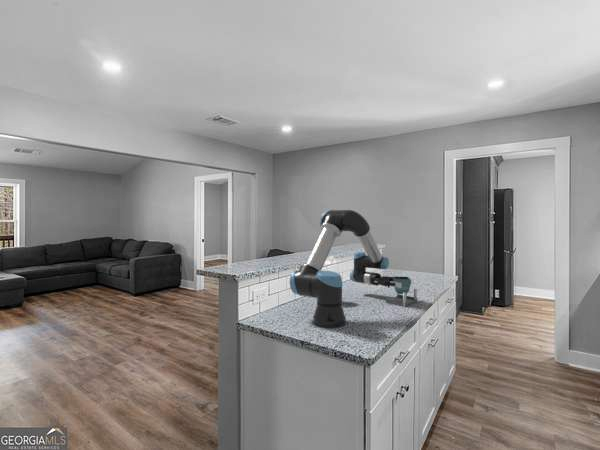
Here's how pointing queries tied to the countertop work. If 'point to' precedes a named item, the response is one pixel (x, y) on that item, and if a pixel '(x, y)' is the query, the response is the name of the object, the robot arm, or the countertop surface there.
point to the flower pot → (405, 284)
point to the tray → (403, 299)
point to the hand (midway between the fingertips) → (406, 283)
